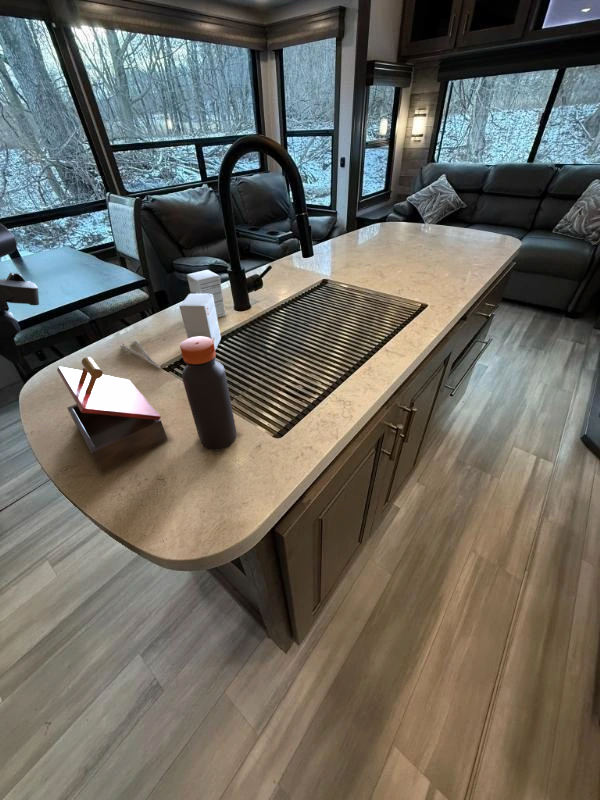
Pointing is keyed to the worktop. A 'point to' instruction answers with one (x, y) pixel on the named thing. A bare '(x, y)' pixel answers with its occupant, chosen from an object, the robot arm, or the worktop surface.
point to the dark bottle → (208, 393)
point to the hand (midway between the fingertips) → (14, 353)
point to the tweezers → (139, 354)
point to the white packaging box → (208, 288)
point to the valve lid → (105, 393)
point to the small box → (200, 317)
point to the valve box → (116, 436)
